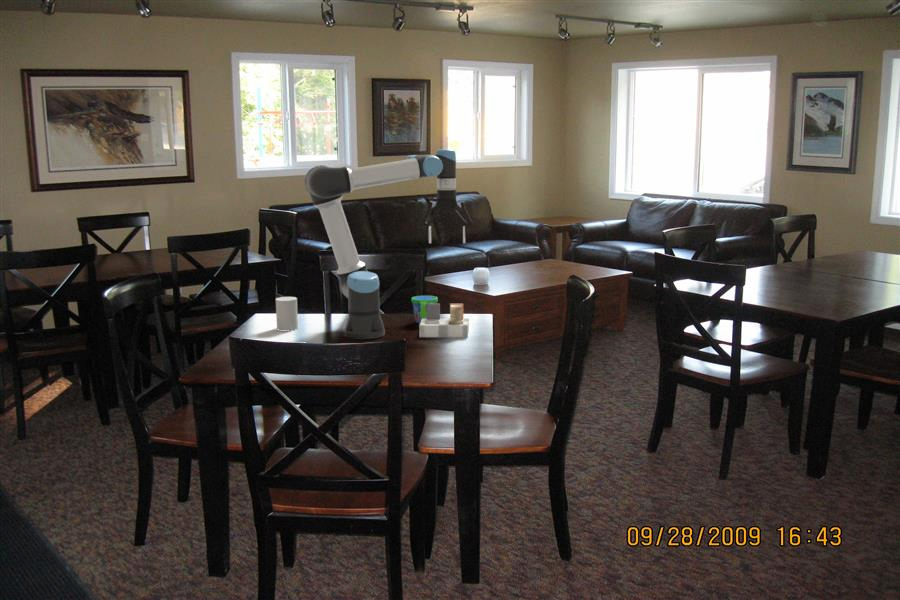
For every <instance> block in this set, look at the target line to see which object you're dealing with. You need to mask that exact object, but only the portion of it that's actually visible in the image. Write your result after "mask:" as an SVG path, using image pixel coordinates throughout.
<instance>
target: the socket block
mask: <svg viewBox="0 0 900 600" xmlns="http://www.w3.org/2000/svg"><path fill="white" fill-rule="evenodd" d="M451 305H461V325H453V324H451V312H450V311H449V318H441V304H440V303H437V304H427V318H422V320H421V322H420V323H419V326H418V327H419V328H418V330H419V333H418V335H419V338H469V337H468V336H469V331H470V330H469V327H470V324H469V321H470V320H469V318H464V303H449V307H450V306H451Z"/></svg>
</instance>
